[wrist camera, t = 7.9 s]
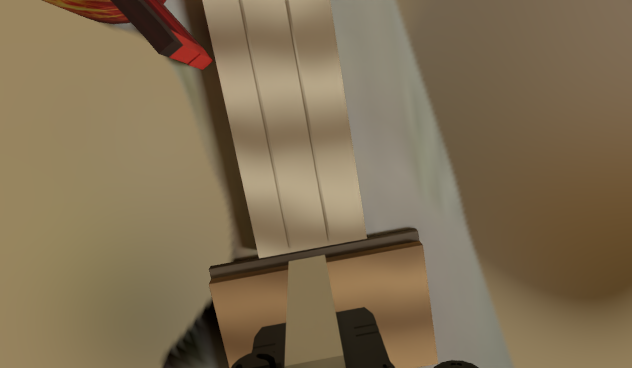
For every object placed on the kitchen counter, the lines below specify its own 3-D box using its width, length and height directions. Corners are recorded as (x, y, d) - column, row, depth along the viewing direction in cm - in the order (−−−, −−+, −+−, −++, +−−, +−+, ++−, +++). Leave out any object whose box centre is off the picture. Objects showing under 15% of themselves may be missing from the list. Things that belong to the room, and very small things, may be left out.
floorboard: (210, 266, 31) (206, 274, 30) (415, 228, 32) (421, 234, 30) (240, 387, 34) (237, 401, 32) (431, 352, 34) (438, 363, 32)
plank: (206, 1, 27) (201, -5, 26) (324, -20, 27) (325, -27, 26) (260, 250, 31) (259, 258, 30) (363, 231, 31) (367, 239, 30)
